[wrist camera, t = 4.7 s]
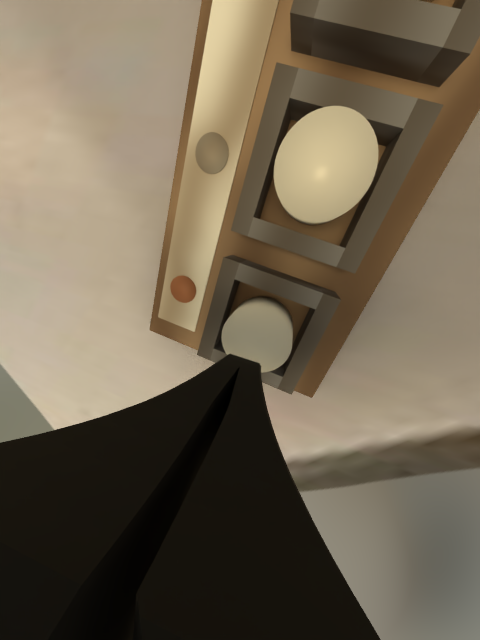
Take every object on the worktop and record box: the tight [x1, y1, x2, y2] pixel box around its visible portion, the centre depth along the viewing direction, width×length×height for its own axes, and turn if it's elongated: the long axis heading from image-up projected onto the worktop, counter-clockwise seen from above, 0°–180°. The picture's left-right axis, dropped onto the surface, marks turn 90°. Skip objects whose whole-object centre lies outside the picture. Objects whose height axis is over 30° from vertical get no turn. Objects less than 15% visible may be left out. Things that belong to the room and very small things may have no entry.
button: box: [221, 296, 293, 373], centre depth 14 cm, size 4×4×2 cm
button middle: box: [274, 106, 378, 225], centre depth 10 cm, size 4×4×2 cm
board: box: [150, 0, 480, 398], centre depth 12 cm, size 14×26×3 cm, turn 163°
